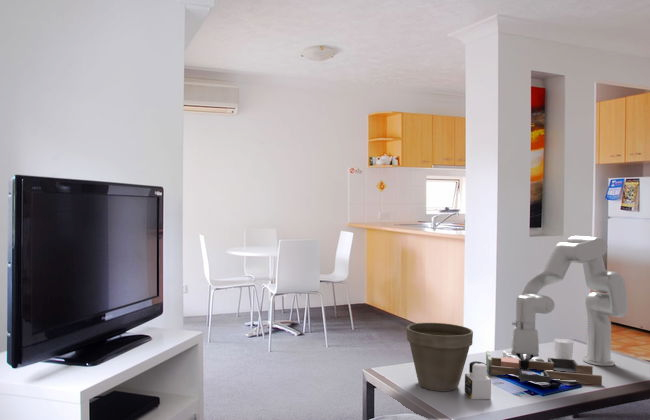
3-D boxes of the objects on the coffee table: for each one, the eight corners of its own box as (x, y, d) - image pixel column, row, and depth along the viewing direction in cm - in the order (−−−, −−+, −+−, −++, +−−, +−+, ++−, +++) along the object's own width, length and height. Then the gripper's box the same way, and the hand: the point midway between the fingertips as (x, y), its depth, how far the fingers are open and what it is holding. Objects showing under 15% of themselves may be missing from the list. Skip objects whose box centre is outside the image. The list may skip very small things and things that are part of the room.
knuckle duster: (549, 367, 223) (522, 370, 218) (521, 356, 240) (495, 358, 235) (549, 360, 223) (522, 362, 218) (521, 349, 240) (495, 351, 235)
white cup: (575, 366, 225) (575, 343, 225) (555, 364, 226) (556, 342, 226) (570, 361, 232) (570, 339, 233) (551, 359, 234) (552, 337, 234)
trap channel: (484, 360, 230) (485, 346, 231) (586, 369, 221) (587, 355, 221) (489, 380, 202) (490, 365, 202) (607, 391, 192) (607, 375, 192)
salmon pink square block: (500, 367, 220) (501, 357, 221) (518, 369, 218) (518, 358, 218) (501, 372, 214) (501, 361, 214) (518, 374, 212) (519, 363, 212)
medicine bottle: (464, 392, 187) (465, 359, 187) (483, 392, 187) (483, 359, 187) (471, 399, 180) (472, 365, 180) (491, 399, 180) (491, 365, 180)
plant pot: (415, 371, 211) (416, 318, 211) (477, 381, 200) (478, 325, 201) (396, 389, 189) (398, 330, 189) (464, 401, 178) (466, 339, 178)
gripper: (507, 326, 211) (506, 370, 211) (546, 328, 207) (545, 374, 207) (505, 322, 218) (504, 365, 218) (542, 325, 215) (542, 368, 214)
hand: (524, 369), depth 213 cm, fingers closed
